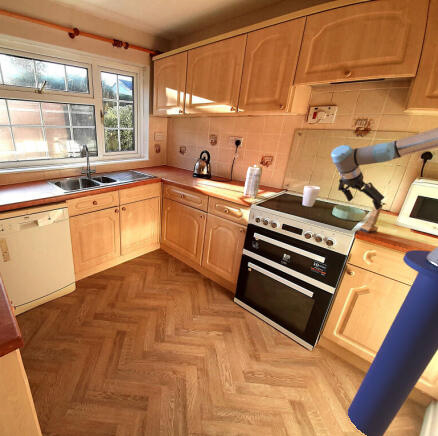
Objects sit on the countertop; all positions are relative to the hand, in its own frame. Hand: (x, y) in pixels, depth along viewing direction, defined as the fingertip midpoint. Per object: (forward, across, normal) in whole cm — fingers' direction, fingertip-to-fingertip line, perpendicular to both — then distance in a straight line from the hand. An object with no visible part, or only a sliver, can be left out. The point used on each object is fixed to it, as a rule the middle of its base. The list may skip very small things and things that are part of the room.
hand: (364, 203), depth 122 cm
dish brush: (+18, 0, -4) cm, 19 cm away
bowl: (+25, -20, +3) cm, 32 cm away
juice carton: (+2, -69, -21) cm, 72 cm away
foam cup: (+22, -44, -1) cm, 49 cm away
